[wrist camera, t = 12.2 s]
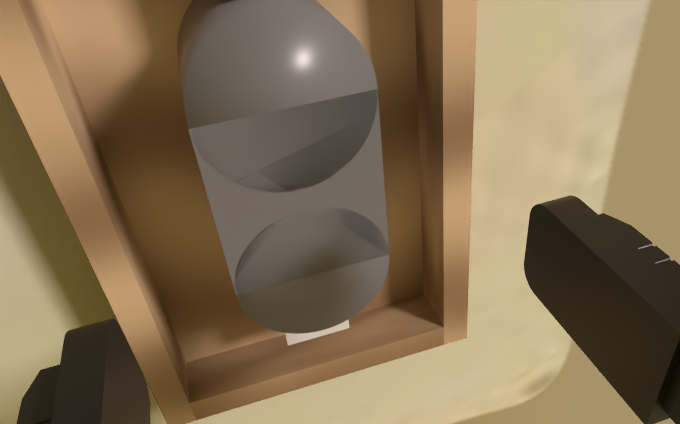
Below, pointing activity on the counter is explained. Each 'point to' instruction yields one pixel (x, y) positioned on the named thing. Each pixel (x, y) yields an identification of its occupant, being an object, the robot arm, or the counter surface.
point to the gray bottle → (288, 158)
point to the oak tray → (193, 205)
